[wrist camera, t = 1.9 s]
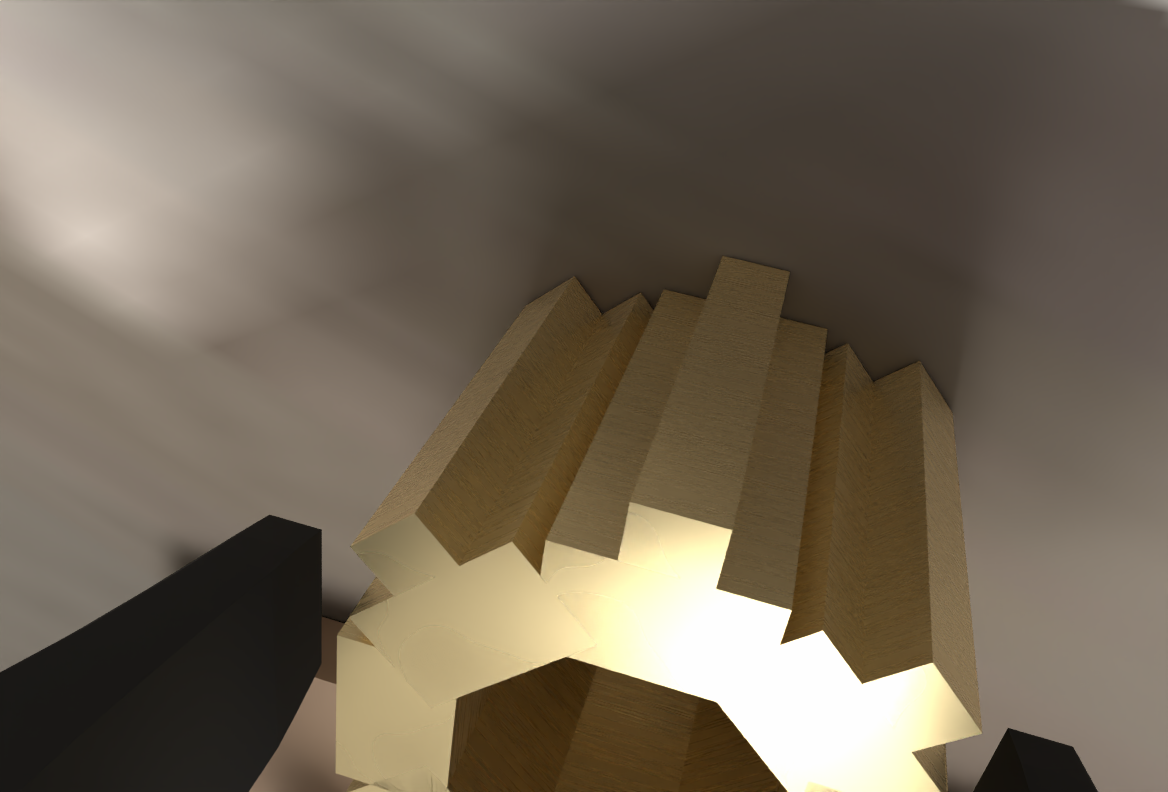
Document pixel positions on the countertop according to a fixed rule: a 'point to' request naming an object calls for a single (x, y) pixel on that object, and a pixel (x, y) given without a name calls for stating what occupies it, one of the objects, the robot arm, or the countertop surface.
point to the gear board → (310, 734)
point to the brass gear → (667, 565)
